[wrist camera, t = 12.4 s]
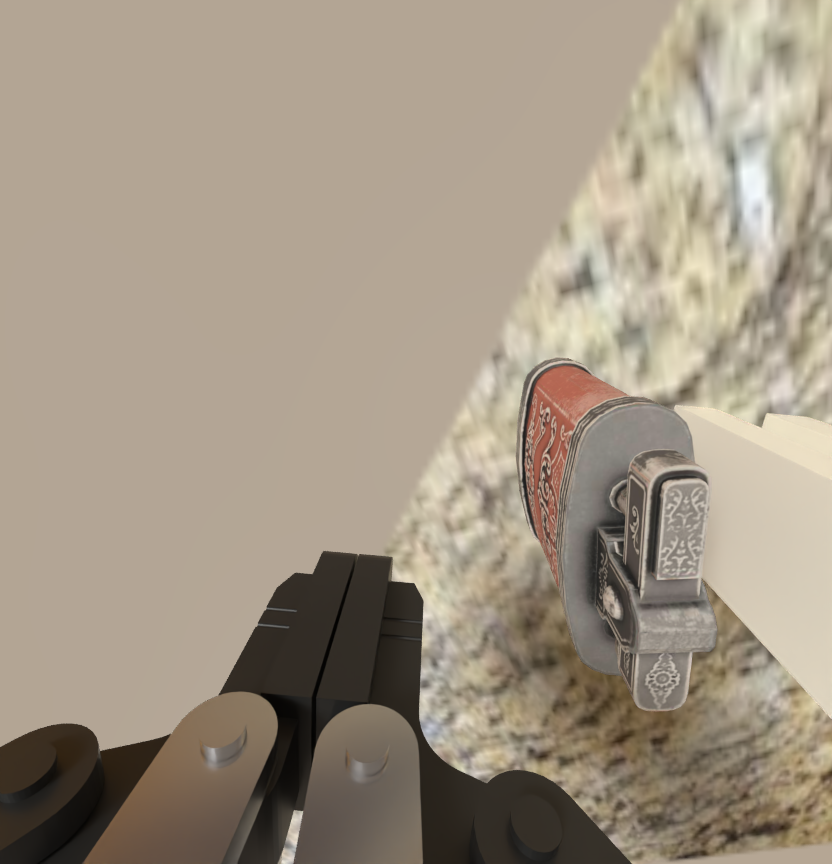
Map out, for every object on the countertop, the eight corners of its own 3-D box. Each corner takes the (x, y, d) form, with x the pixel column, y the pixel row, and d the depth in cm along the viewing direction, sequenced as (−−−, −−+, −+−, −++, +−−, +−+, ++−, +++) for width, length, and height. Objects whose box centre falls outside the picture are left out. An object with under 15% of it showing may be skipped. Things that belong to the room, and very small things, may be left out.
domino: (715, 408, 18) (1042, 546, 8) (682, 519, 19) (924, 745, 10) (675, 405, 18) (953, 538, 8) (645, 516, 19) (848, 737, 10)
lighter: (595, 535, 20) (742, 766, 10) (518, 539, 20) (590, 767, 10) (601, 353, 17) (800, 430, 8) (513, 361, 17) (600, 444, 8)
